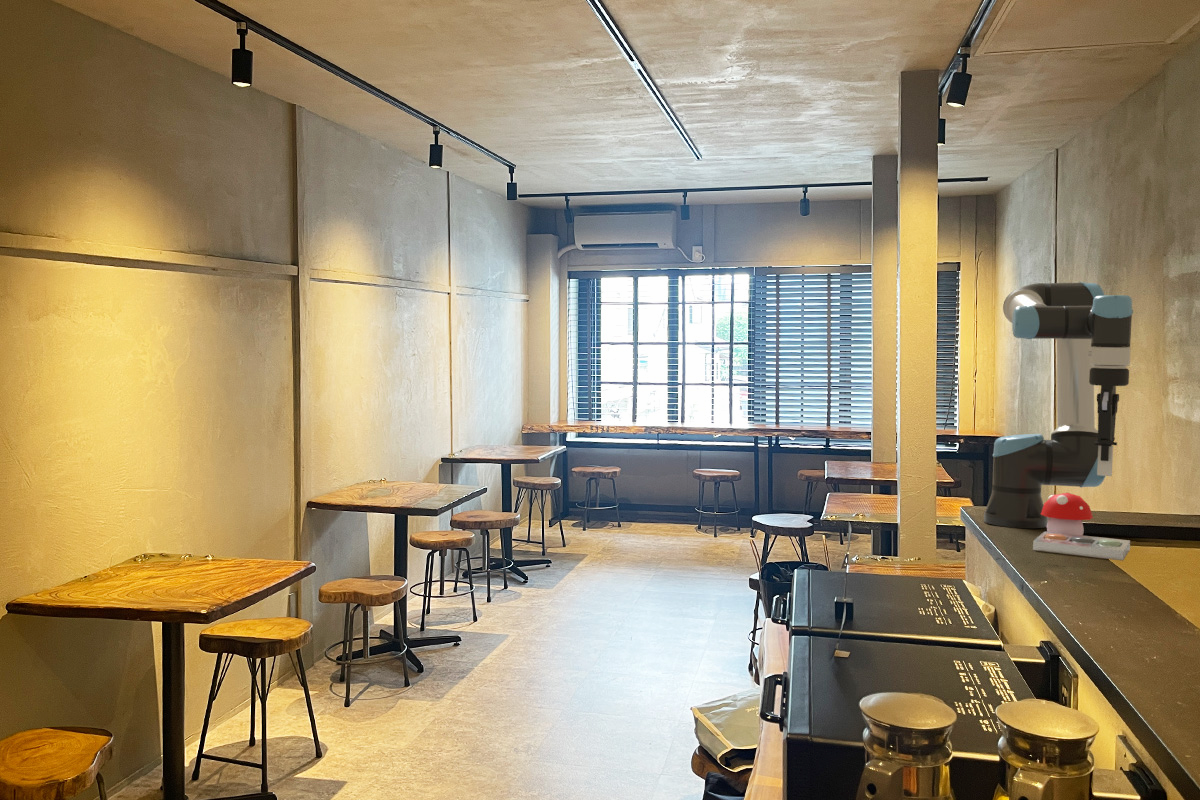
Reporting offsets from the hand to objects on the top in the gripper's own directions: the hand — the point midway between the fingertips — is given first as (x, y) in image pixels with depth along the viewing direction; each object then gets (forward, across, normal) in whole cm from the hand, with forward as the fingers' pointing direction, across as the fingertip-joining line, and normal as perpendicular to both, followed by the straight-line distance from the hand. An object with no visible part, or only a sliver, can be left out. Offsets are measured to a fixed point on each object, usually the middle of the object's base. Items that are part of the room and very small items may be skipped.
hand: (1104, 475), depth 203 cm
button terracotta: (+16, +6, -8) cm, 19 cm away
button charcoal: (+16, +6, -3) cm, 17 cm away
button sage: (+16, +6, +2) cm, 17 cm away
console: (+17, +6, -3) cm, 18 cm away
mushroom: (+18, -8, -8) cm, 22 cm away
